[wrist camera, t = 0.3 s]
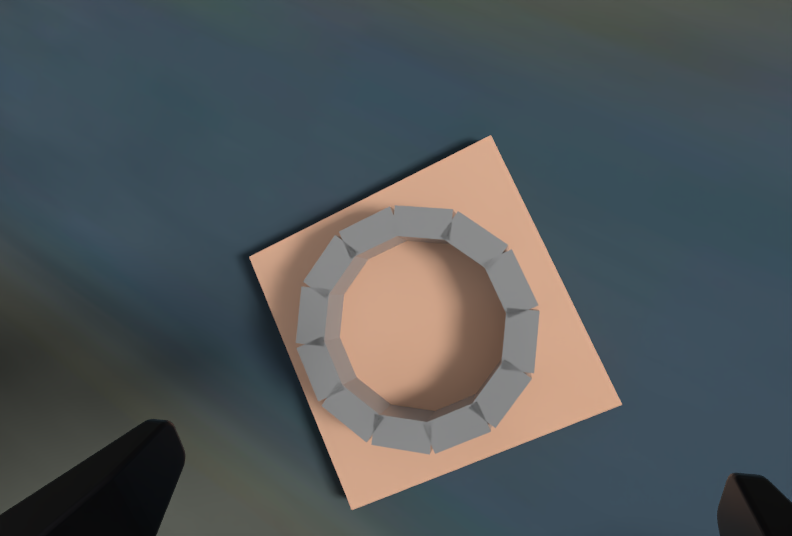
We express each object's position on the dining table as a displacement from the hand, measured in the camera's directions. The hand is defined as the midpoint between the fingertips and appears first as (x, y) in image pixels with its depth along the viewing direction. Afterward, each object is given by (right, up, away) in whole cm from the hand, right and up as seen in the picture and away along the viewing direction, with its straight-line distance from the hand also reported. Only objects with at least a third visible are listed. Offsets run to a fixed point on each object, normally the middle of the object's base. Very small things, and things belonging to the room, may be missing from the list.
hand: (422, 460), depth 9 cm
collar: (+1, +1, +15) cm, 15 cm away
